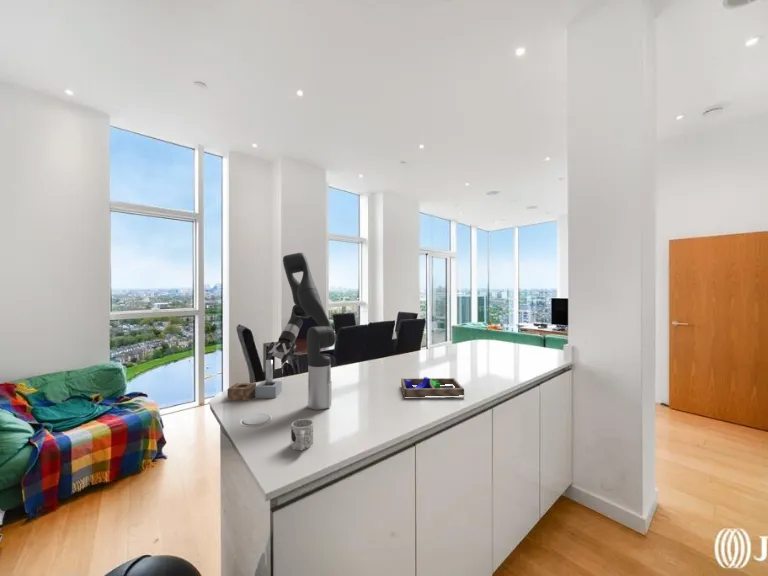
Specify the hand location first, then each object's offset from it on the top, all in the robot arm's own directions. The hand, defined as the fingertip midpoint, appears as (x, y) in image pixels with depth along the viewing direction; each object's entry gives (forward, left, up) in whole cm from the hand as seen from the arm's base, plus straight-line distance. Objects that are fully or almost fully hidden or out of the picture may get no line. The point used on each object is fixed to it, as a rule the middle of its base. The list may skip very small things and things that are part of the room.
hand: (274, 361), depth 149 cm
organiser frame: (-75, +1, -14) cm, 76 cm away
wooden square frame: (+12, +7, -14) cm, 20 cm away
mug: (-26, +54, -15) cm, 61 cm away
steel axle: (+1, +4, -14) cm, 15 cm away
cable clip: (-68, +1, -14) cm, 69 cm away
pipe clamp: (-77, 0, -15) cm, 78 cm away
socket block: (+1, +4, -14) cm, 15 cm away
